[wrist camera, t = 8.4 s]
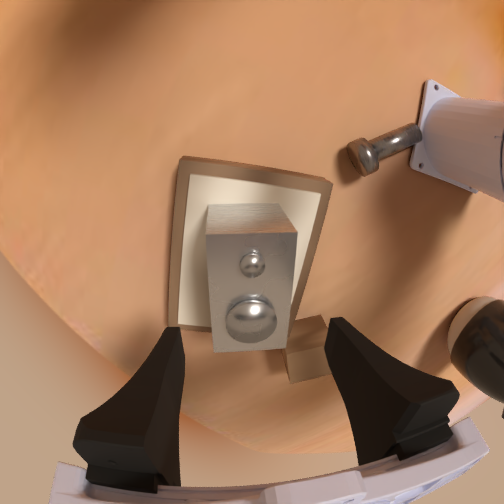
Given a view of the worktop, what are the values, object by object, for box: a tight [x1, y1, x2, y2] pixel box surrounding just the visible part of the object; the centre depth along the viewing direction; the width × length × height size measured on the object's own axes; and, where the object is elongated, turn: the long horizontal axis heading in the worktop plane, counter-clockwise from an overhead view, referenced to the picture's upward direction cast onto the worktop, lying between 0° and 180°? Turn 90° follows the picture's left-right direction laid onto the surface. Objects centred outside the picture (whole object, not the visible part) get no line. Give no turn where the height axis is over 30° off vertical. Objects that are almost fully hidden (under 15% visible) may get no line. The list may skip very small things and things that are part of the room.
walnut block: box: [282, 315, 332, 384], centre depth 25 cm, size 4×4×4 cm
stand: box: [168, 156, 333, 337], centre depth 21 cm, size 10×13×2 cm
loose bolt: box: [347, 123, 423, 177], centre depth 19 cm, size 6×3×3 cm, turn 116°
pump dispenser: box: [447, 296, 504, 419], centre depth 23 cm, size 10×10×15 cm
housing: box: [206, 203, 298, 353], centre depth 18 cm, size 4×8×6 cm, turn 179°
